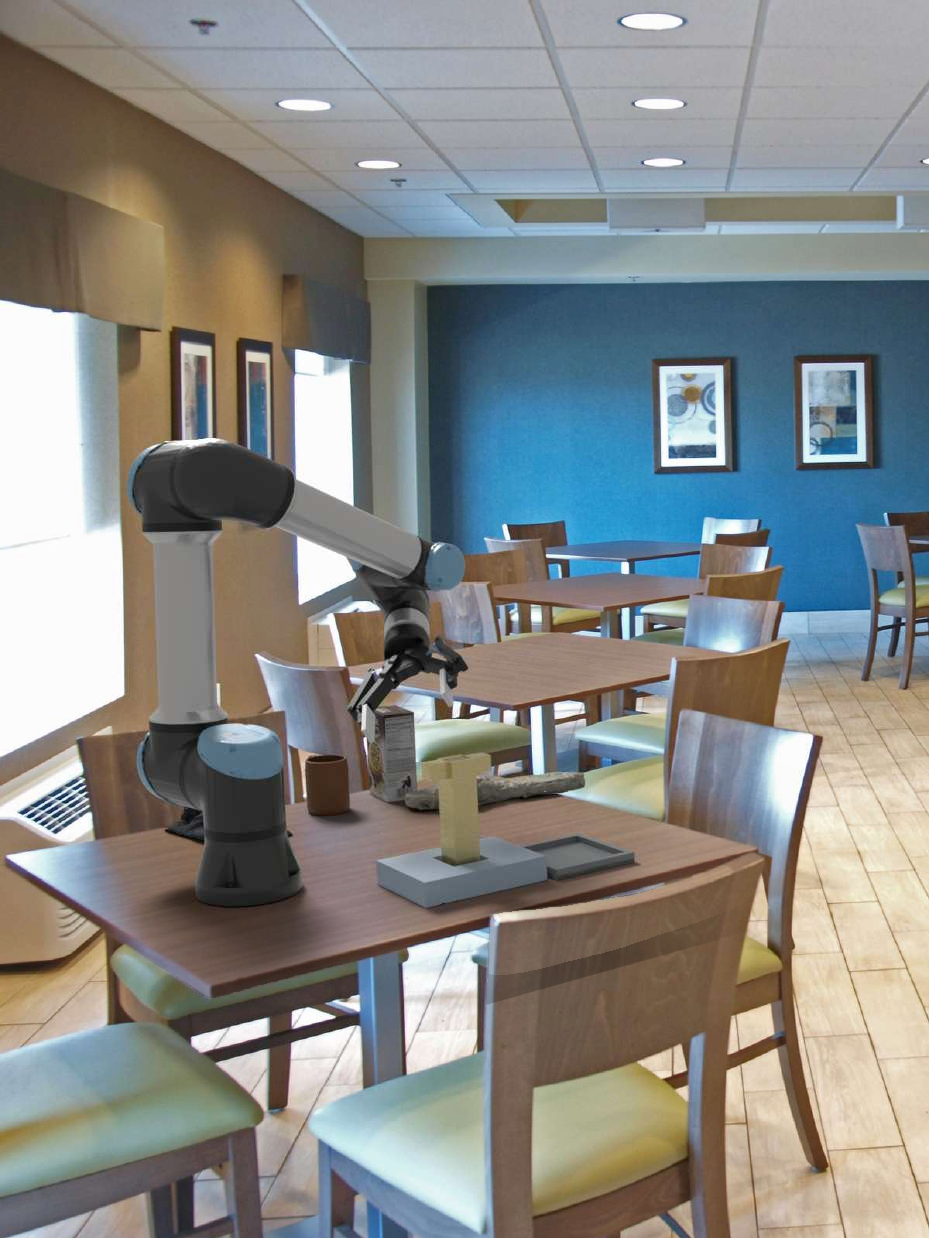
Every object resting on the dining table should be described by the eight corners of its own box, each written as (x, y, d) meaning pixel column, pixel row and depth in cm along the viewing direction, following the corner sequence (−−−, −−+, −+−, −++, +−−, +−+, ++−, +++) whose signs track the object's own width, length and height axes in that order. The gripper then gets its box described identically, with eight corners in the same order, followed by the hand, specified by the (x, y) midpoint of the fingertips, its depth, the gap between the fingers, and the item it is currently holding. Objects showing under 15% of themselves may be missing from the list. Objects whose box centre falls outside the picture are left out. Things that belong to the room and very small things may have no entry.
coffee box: (368, 793, 255) (363, 707, 253) (400, 788, 258) (395, 703, 256) (386, 803, 247) (381, 714, 245) (419, 798, 249) (414, 710, 248)
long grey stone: (597, 799, 249) (572, 791, 258) (597, 770, 249) (571, 763, 258) (416, 814, 236) (397, 806, 245) (416, 784, 236) (396, 776, 245)
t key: (438, 892, 193) (432, 765, 191) (424, 885, 196) (418, 761, 194) (498, 878, 198) (493, 755, 196) (484, 872, 201) (478, 751, 199)
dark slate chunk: (215, 856, 218) (213, 827, 217) (159, 831, 236) (157, 804, 235) (300, 838, 227) (298, 810, 226) (240, 815, 245) (238, 789, 244)
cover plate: (425, 907, 186) (424, 882, 185) (377, 883, 198) (376, 860, 197) (547, 879, 196) (546, 855, 196) (494, 858, 208) (493, 836, 208)
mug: (292, 805, 248) (288, 754, 247) (330, 798, 252) (328, 748, 251) (317, 818, 238) (313, 765, 237) (357, 811, 241) (354, 759, 240)
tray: (557, 879, 196) (556, 869, 196) (503, 858, 208) (503, 849, 207) (634, 861, 203) (634, 852, 203) (578, 842, 215) (578, 833, 215)
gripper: (485, 626, 224) (492, 702, 206) (352, 688, 229) (348, 767, 211) (463, 592, 220) (468, 666, 202) (329, 655, 225) (322, 733, 207)
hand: (407, 718), depth 206 cm, fingers open, 13 cm apart
